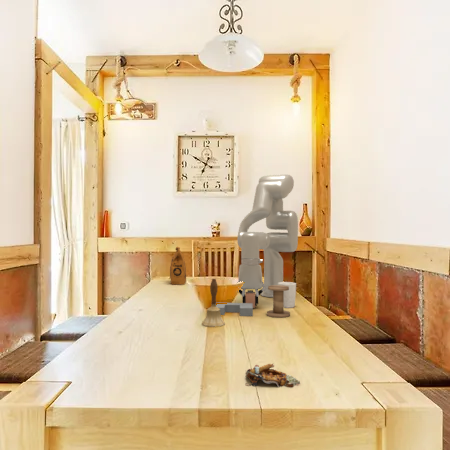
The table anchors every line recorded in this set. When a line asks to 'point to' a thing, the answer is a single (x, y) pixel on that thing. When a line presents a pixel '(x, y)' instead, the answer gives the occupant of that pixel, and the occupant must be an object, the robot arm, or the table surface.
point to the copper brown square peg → (250, 297)
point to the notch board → (236, 308)
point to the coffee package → (178, 268)
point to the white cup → (289, 294)
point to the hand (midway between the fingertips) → (250, 304)
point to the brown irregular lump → (270, 376)
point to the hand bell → (213, 309)
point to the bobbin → (278, 302)
